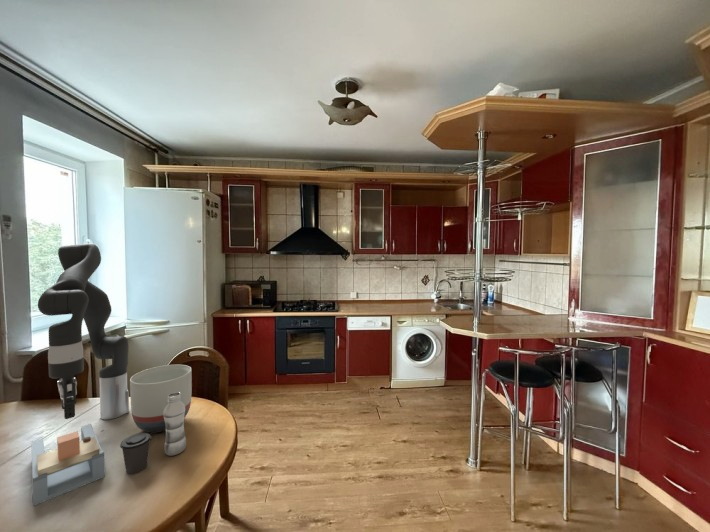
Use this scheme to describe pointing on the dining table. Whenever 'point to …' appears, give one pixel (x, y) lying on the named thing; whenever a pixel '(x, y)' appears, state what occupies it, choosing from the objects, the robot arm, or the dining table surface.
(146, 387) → the planter
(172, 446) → the plastic bottle
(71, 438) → the block
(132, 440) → the coffee cup
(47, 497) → the stand
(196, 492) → the dining table surface
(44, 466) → the lid
